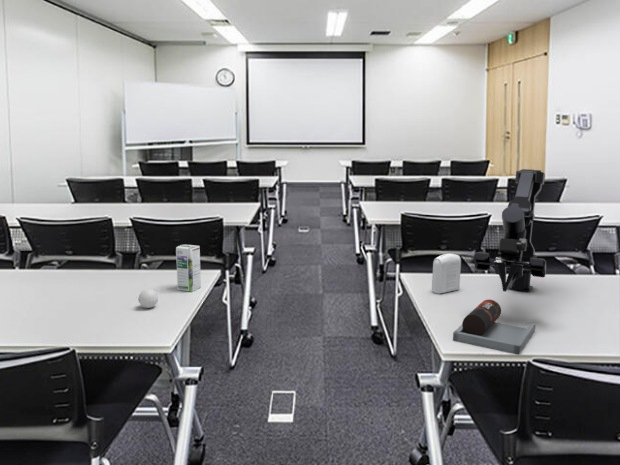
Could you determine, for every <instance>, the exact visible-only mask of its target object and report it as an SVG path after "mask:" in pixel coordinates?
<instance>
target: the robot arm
mask: <svg viewBox="0 0 620 465" xmlns="http://www.w3.org/2000/svg"><path fill="white" fill-rule="evenodd" d="M545 179H546V173H545V172H543V171H542V170H540V169H529V168H528V169H527V168H522V169H519V170H517V171H515V179H514V180H515V181H514V182H515V183H516V184H517V187H516V191H515V196H514V199H512V200H510V201H509V202H508V204H507V206H506V207H505V208H504V209H503V210H502V211H501V220H502V227H503V228H502V229H503V230H504V235H503V238H500V239H499V243H498V244H499V245H498V246H499V247H498V253H497V255H498V256H496V257H495V258H491V254H490V252H482V251H481V252H480V251H477V252H475V253H474V254H473V265H474V268H475V270H478V271H488V270H490V269H491V266H492V267H493V268H494V273H495V275H498V276H499V279H500V281H501V287H502V292H507V291H508V290H514V291H520V292H527V293H529V292H530V291H531V290H532V289H533V285H531V278H532V277H535V278H545V277H546V274H547V260H545V258H540V257H539V258H538V257H537V255H536V250H535V248H534V246H533V243H532V235H533V234H532V232H533V224H534V223H533V222H534V220H535V218H536V216H535V214H534V213H535V206H536V198H537V196H538V195H539V194H540V193H541V191H542V186H543V185H545ZM507 271H508V274H507Z"/></svg>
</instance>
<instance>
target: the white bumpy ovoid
mask: <svg viewBox="0 0 620 465" xmlns="http://www.w3.org/2000/svg"><path fill="white" fill-rule="evenodd" d="M137 301H138V303H139V305H140V306H141V307H143V308H145V309H151V308H153V307H155V306H157V304H158V301H159V296H158V293H157V292H156V291H155V290H154V289H150V288H146V289H144V290H142V291H141V292H140V293H139V295H138V300H137Z"/></svg>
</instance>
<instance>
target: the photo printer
mask: <svg viewBox="0 0 620 465" xmlns="http://www.w3.org/2000/svg"><path fill="white" fill-rule="evenodd" d="M461 269H462V258H461V256H460V255H459V254H455V253H444V254H441V255H439V256H437V257H435V258H434V259H433V262H432V279H431V290H432V293H434V294H445V293H449V292H453V291H458V290H459V289H460V282H461Z"/></svg>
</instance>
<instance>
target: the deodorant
mask: <svg viewBox="0 0 620 465" xmlns="http://www.w3.org/2000/svg"><path fill="white" fill-rule="evenodd" d="M501 314H502V308H501V306H500V304H499V302H498V301H495V300H494V299H488V298H487V299H485V300H483V301H481V303H479V304H478V305H477V306H476V307H475V308H474V309H473V310H471V312H470V313H468V314H467V315H466V316H465V317H464V319H462V324H461V325H462V326H463V329H464V331H465V333H467V334H472V335H477V336H482V335H483V334H484V333H485V332H486V331H487V330H488V328H489V327H490V326H491V325H492V324H493V323H494V322H496V321H497V320H498V319H499V317H501Z"/></svg>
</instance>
